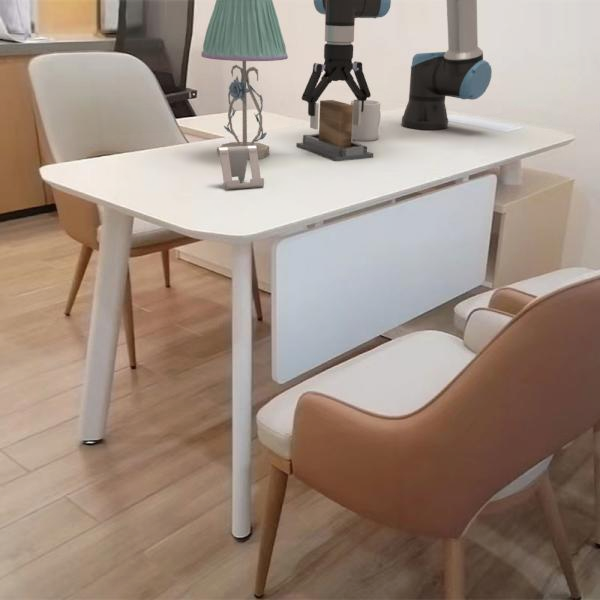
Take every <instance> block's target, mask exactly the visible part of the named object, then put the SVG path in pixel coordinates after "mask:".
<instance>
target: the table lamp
mask: <svg viewBox="0 0 600 600" xmlns="http://www.w3.org/2000/svg"><path fill="white" fill-rule="evenodd" d="M280 26H281V25H280V23H279V19H278V16H277V12H276V9H275V6H274V1H273V0H215V4H214V7H213V10H212V14H211V17H210V19H209V22H208V25H207V28H206V31H205V36H204V40H203V45H202V48H203V49H202V50H203V51H201V57H202V58H205V59H211V60H218V61H231V62H232V61H233V62H235V61H236V62H242V63H241V64H242V67H240V66H239V65H237V64H235V65H233V66H232V68H231V69H230V73H231V76H232V78H233V77H234V70H235V69H239V70H240V74H241V77H240V80H239V77H238V75H236V77H235V79H233V81H231V82H230V85H229V87H228V94H227V95H228V104H229V106H228V107H229V108H228V113H227V118H228V123H227V125H226V126H225V125H223V127H224V129H225V130H226V131H227V132H228V133H229V134H231V135H232V136H233V137H234V139H235V141H232V142H228V143H222V144H221V145H220V147H235V146H252V145H255V146H256V148H257V154H258V160H263V159H265V158H266V157H268V156H270V145H267V144H264V143H261V142H259V141H260V140H261V141H262V140H264V139H265V137H266V136H267V133H268V132H264V128H263V115H262V111H263V102H264V101H263V96H262V94H259V93H258V92H257V91H256V90H255V89H254V88H253V86H252V85H251V84H250V79H249V73H250V72H253V71H254V72H255V74H256V82H258V81H259V69H258V68H256V67H255V66H250V67H248V69H247V62H272V61H273V62H274V61H275V62H276V61H284V60H288V57H289V56H288V54H287V49H286V44H285V40H284V37H283V34H282V29H281V27H280ZM247 93H248V94H249V95H250V97H251V99H252V101H253V104H254V106H255V107H256V110H257V112H258V113H257V114H256V113H255V112H253V113H254V116H255V119H256V122H257V123H258V126H259V127H258V130H257V134H256V136H255V137H254V138H253V140H251V141H248V131H247V130H248V123H247V121H248V120H247V119H248V117H247V113H248V111H247V110H248V109H247V105H248V104H247ZM255 95H257V97H259V100H260V105H259V103H258V101H257V98H256V97H255ZM231 98H232V99H231ZM237 100H241V101H242V141H240V140H239V138H238V137H239V136H237V134H236V133H235V130H234V129H233V123H232V122H233V121H232V118H233V117H234V116H235V114H236V111H237V109H234V107H233V104H234V103H235V102H237ZM258 116H259V117H258ZM248 160H249V161H250V158H249V156H248ZM248 160H247V161H248Z"/></svg>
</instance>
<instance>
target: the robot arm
mask: <svg viewBox="0 0 600 600" xmlns="http://www.w3.org/2000/svg"><path fill="white" fill-rule="evenodd" d="M313 5H314V8H315V10H316V12H317V13H319V14H321V15H324V16H325V17H324V20H325V21H324V24H325V25H324V41H325V42H326V43H325V44H324V45H323V46H324V48H323V58H324V62H323V64H322V63H318V62H314V63H313V66H312V72H311V74H310V77H309V79H308V82H307V84H306V86H305V89H304V91H303V93H302V96H301V100H302V101H304V102H307V106H308V107H307V115H308V116H309V117H310V122H309V123H310V124H309V127H310V129H313V130H319V108H320V103H317V101H319V98H320V97H321V95H323V93H324V92H325V90H326V88H328V86H329V84H331V83H332V82H338V81H340V82H341V81H342V82H345V83H346V84H347V86H348V88H349V89H350V91H351V92H352V94H353V95H354V97H355V98H356V99H353V100H354V107H353V124H355V125H358V126H359V125H361V112H363V108H364V101H366V100H368V98H371V96H372V95H371V91H370V89H369V85H368V82H367V81H366V77H365V74H364V72H363V63H362V62H360V61H356V60H355V61H354V62H352V60H353V58H354V45H353V44H352V43H354V41H355V25H356V24H355V23H356V22H355V21H356V19H357V18H358V19H378V18H383V17H385V16H386V15H387V14H388V13H389V12H390V9H391V5H392V0H313ZM446 17H447V20H446V21H447V42H448V43H447V44H448V48H447V50H446V51H437V52H436V51H435V52H424V53H423V52H422V53H420V52H419V53H415V54H414V55H413V57H412V60H411V66H410V78H409V92H408V93H409V94H408V102H407V105H406V107H405V109H404V112H403V115H402V117H401V122H400V125H401V126H402V127H405V128H409V129H414V130H427V131H428V130H432V131H433V130H436V131H437V130H443V129H447V128H448V127H449V119H448V118H449V117H448V113H447V107H446V97H451V98H455V99H461V100H477V99H478V98H480V97H481V96H483V95H484V94H485V92H486V90H487V89H488V87H489V85H490V83H491V78H492V66H491V65H490V63H489V62H488V61H487V60H485V59H484V50H483V49H481V48H480V47H479V46H478V45H479V44H478V1H477V0H446ZM352 71H353V73H354V76H355V78H356V81H355V79H354V77H353V75H352V73H351V72H352ZM323 72H324V74H323V75H322V73H323ZM320 78H321V79H320ZM319 80H320V81H319Z"/></svg>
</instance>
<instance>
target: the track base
mask: <svg viewBox="0 0 600 600" xmlns="http://www.w3.org/2000/svg"><path fill="white" fill-rule="evenodd" d="M296 147H297V148H299V149H301V150H305V151H308V152H309V153H313V154H315V155H318V156H321V157H323V158H324V159H328V160H331V161H333V162H339V161H349V160H359V159H369V158H374V153H373V152H370V151H368V146H367V145H363V144H361V143H357V142H355V141H352V140H351V147H346V148H343V147H340V146H337V145H334V144H332V143H329V142H326V141H323V140H320V139H319V133H314V134H303V136H302V142H296Z"/></svg>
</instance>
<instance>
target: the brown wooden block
mask: <svg viewBox="0 0 600 600" xmlns="http://www.w3.org/2000/svg"><path fill="white" fill-rule="evenodd" d="M352 118H353V105H351V103H345V102H342V101H338V100H334V99H328V100H327V99H326V100H324V99H323V100H320V101H319V117H318V134H319V139H320V140H323V141H326V142H329V143H332V144H334V145H337V146H340V147H343V148H346V147H351V141H352V139H351V136H352Z"/></svg>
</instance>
